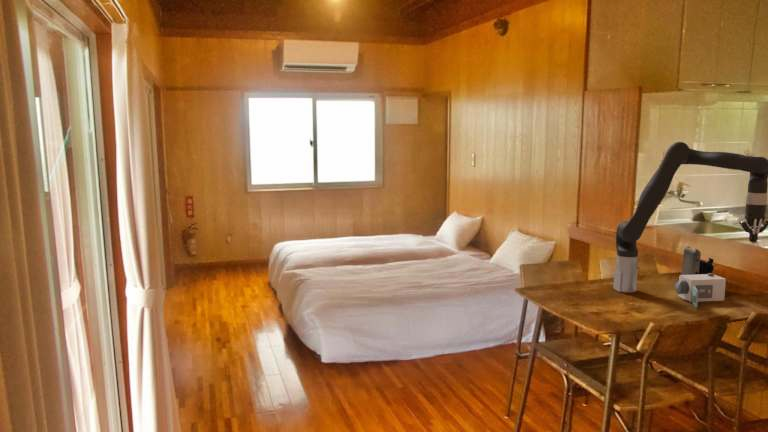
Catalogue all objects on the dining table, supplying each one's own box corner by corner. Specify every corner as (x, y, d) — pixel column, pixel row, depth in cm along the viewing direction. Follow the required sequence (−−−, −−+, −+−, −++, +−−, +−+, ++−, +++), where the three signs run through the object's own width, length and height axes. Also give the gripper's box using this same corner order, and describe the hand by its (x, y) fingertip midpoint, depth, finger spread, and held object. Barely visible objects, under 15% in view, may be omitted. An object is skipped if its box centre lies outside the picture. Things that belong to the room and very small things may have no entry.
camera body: (683, 302, 248) (685, 278, 247) (671, 296, 258) (672, 273, 256) (724, 300, 250) (726, 276, 248) (710, 294, 259) (712, 271, 257)
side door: (688, 300, 249) (689, 284, 248) (694, 300, 248) (695, 285, 247) (692, 307, 239) (693, 291, 238) (697, 308, 238) (699, 291, 237)
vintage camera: (722, 291, 266) (726, 250, 263) (689, 290, 266) (693, 249, 264) (710, 286, 276) (714, 246, 273) (679, 285, 276) (683, 245, 273)
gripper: (764, 201, 246) (760, 240, 248) (735, 202, 245) (732, 241, 247) (777, 203, 238) (773, 243, 241) (748, 204, 237) (744, 244, 240)
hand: (753, 242), depth 244 cm, fingers closed
